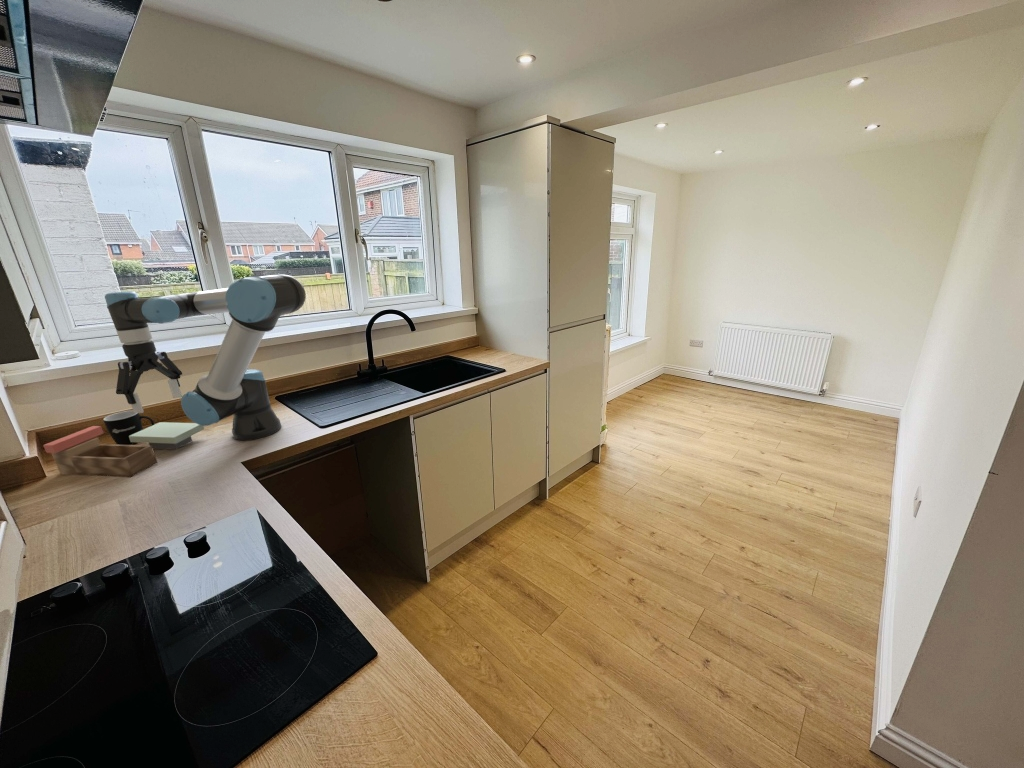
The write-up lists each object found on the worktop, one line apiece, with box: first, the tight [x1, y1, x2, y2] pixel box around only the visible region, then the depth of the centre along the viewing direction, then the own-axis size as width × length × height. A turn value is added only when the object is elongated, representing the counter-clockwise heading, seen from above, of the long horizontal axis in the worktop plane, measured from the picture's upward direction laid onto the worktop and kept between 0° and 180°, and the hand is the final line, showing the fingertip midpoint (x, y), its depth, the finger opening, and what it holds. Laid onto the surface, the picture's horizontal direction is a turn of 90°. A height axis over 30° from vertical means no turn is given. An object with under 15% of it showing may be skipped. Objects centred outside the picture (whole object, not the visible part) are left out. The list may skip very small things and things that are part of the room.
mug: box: [102, 410, 155, 445], centre depth 140 cm, size 12×9×10 cm
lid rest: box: [148, 436, 193, 450], centre depth 137 cm, size 10×6×4 cm, turn 83°
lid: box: [129, 421, 205, 444], centre depth 137 cm, size 17×11×2 cm, turn 83°
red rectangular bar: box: [42, 425, 104, 454], centre depth 121 cm, size 3×13×2 cm, turn 173°
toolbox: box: [50, 437, 158, 478], centre depth 122 cm, size 24×8×8 cm, turn 83°
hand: (159, 404), depth 133 cm, fingers open, 13 cm apart
